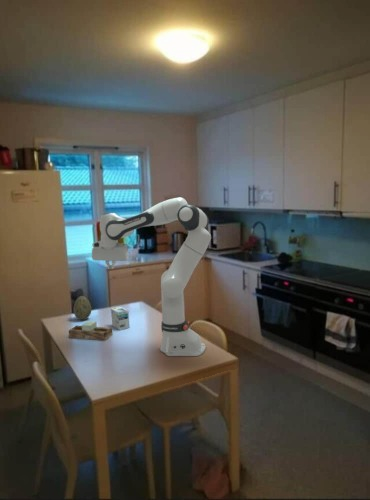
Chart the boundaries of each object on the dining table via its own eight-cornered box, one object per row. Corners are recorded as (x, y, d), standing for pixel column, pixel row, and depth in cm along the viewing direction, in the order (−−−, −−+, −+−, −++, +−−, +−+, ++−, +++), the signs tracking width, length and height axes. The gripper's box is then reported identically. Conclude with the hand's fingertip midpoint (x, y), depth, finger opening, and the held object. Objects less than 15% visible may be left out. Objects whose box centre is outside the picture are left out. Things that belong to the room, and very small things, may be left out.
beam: (112, 334, 212) (112, 327, 211) (105, 340, 204) (105, 333, 203) (76, 332, 217) (76, 325, 217) (69, 337, 210) (68, 330, 209)
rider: (96, 330, 213) (96, 321, 212) (90, 334, 207) (90, 325, 206) (88, 329, 214) (88, 321, 214) (82, 334, 208) (81, 325, 207)
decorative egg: (84, 323, 232) (82, 299, 230) (70, 321, 237) (68, 297, 235) (95, 317, 242) (94, 294, 240) (82, 315, 247) (80, 293, 244)
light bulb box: (129, 328, 222) (128, 310, 220) (119, 330, 218) (118, 312, 216) (122, 323, 231) (121, 305, 229) (111, 325, 227) (110, 308, 225)
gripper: (129, 242, 205) (131, 268, 207) (95, 242, 210) (96, 267, 212) (125, 244, 199) (126, 270, 201) (89, 243, 204) (91, 269, 206)
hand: (110, 268), depth 207 cm, fingers closed
